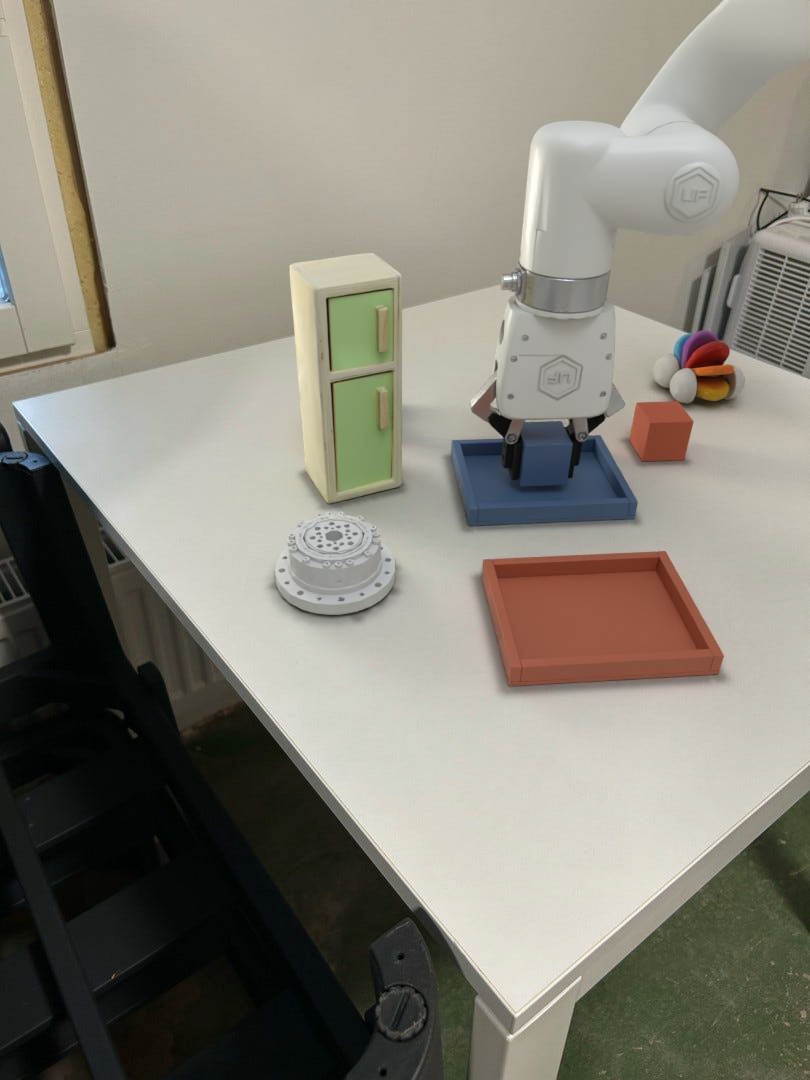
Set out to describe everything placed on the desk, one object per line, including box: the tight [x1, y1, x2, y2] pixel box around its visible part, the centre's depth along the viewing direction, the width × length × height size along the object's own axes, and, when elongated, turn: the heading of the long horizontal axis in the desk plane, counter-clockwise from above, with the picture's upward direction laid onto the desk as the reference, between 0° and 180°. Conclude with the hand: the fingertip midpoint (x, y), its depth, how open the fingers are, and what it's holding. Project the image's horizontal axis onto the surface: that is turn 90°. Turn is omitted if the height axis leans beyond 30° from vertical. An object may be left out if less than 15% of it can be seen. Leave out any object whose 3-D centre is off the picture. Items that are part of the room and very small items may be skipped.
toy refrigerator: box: [288, 252, 403, 504], centre depth 75 cm, size 8×7×21 cm
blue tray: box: [450, 434, 639, 527], centre depth 80 cm, size 16×13×2 cm
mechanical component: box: [274, 511, 397, 616], centre depth 68 cm, size 10×4×10 cm
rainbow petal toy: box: [652, 329, 746, 404], centre depth 96 cm, size 8×10×7 cm
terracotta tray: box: [480, 550, 725, 687], centre depth 64 cm, size 16×13×2 cm
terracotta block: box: [628, 400, 695, 462], centre depth 86 cm, size 4×4×4 cm
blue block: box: [518, 420, 573, 486], centre depth 79 cm, size 4×4×4 cm
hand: (538, 470), depth 80 cm, fingers closed on blue block, 4 cm apart
